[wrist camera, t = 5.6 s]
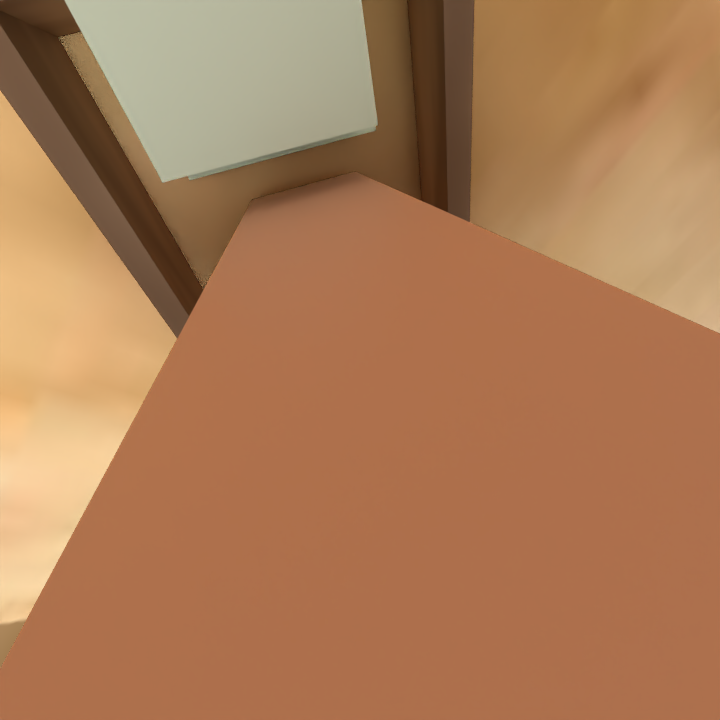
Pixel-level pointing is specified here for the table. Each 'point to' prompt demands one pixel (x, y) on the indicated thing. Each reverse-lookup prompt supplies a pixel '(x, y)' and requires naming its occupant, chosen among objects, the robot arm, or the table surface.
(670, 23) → the table surface
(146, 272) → the frame
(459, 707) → the tall pink block
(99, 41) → the pale green block
